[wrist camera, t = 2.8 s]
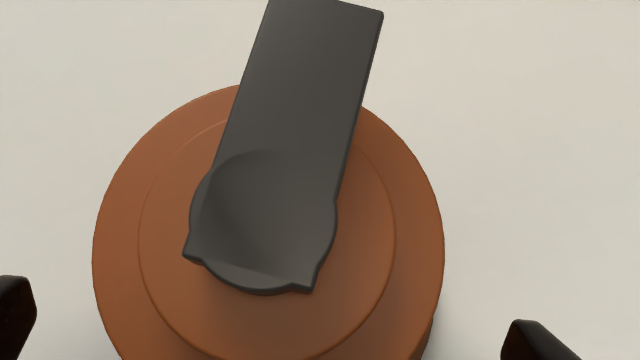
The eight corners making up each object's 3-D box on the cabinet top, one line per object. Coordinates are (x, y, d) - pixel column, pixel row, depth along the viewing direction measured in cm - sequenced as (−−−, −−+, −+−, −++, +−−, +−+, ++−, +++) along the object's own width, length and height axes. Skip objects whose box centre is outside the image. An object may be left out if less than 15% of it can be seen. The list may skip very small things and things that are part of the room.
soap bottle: (346, 390, 16) (443, 534, 5) (180, 344, 16) (-57, 392, 6) (386, 210, 18) (519, 42, 7) (237, 171, 18) (145, -50, 7)
